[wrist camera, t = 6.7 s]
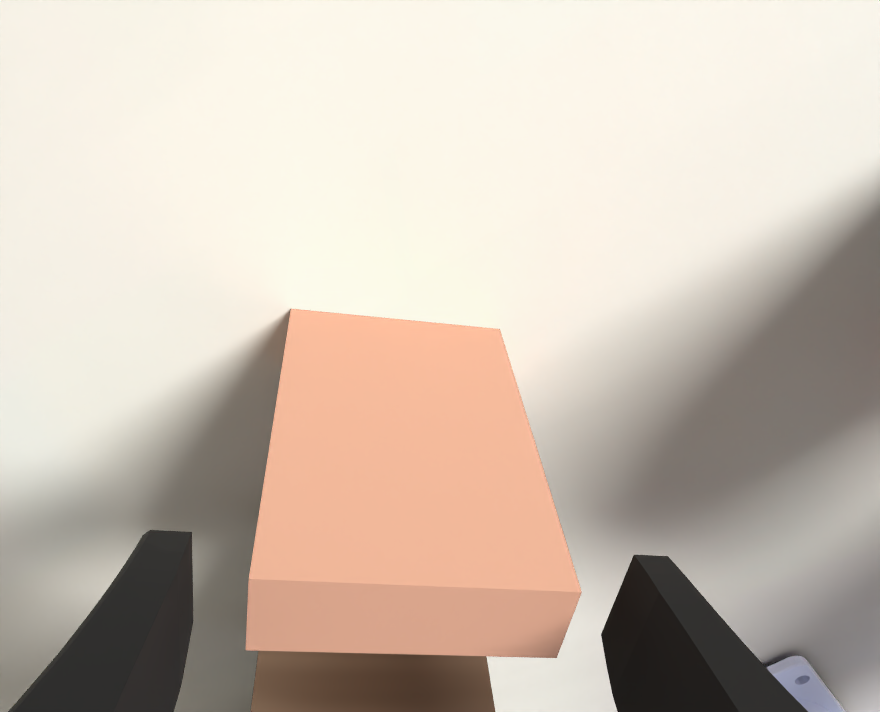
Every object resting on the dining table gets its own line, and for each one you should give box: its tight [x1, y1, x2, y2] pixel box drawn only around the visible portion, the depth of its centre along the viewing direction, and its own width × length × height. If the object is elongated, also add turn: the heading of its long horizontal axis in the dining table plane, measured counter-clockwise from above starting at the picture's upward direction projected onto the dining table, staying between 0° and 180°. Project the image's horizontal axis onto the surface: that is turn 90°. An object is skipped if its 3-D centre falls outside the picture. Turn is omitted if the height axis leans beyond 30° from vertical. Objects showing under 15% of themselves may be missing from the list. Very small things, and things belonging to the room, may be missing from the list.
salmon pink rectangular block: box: [246, 309, 582, 658], centre depth 15 cm, size 2×5×8 cm, turn 81°
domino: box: [251, 651, 495, 712], centre depth 18 cm, size 2×5×8 cm, turn 81°
